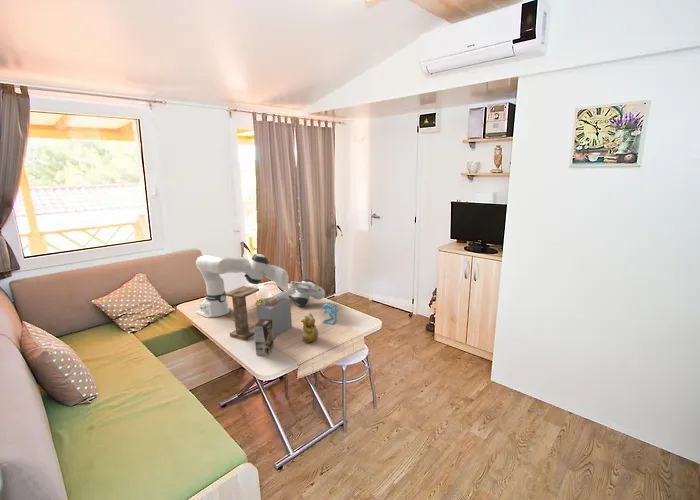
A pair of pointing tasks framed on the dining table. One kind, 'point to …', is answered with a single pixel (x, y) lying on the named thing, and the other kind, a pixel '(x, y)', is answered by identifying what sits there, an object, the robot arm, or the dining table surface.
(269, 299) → the light slender bar
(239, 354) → the dining table surface
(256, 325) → the coffee box
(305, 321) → the decorative figurine
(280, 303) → the block
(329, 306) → the blue strut sculpture
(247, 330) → the walnut shelf
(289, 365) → the dining table surface
